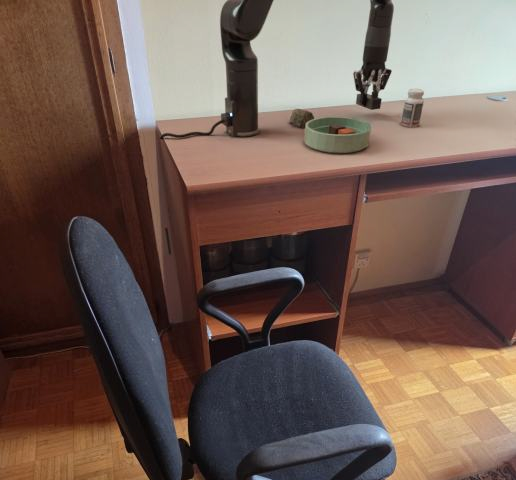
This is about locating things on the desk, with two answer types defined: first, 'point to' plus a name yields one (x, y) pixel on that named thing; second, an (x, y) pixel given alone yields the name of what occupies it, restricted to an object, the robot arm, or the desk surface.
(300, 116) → the rock
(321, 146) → the bowl
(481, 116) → the desk surface
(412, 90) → the pill bottle
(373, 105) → the black rectangular block
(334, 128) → the walnut block
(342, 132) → the terracotta block
